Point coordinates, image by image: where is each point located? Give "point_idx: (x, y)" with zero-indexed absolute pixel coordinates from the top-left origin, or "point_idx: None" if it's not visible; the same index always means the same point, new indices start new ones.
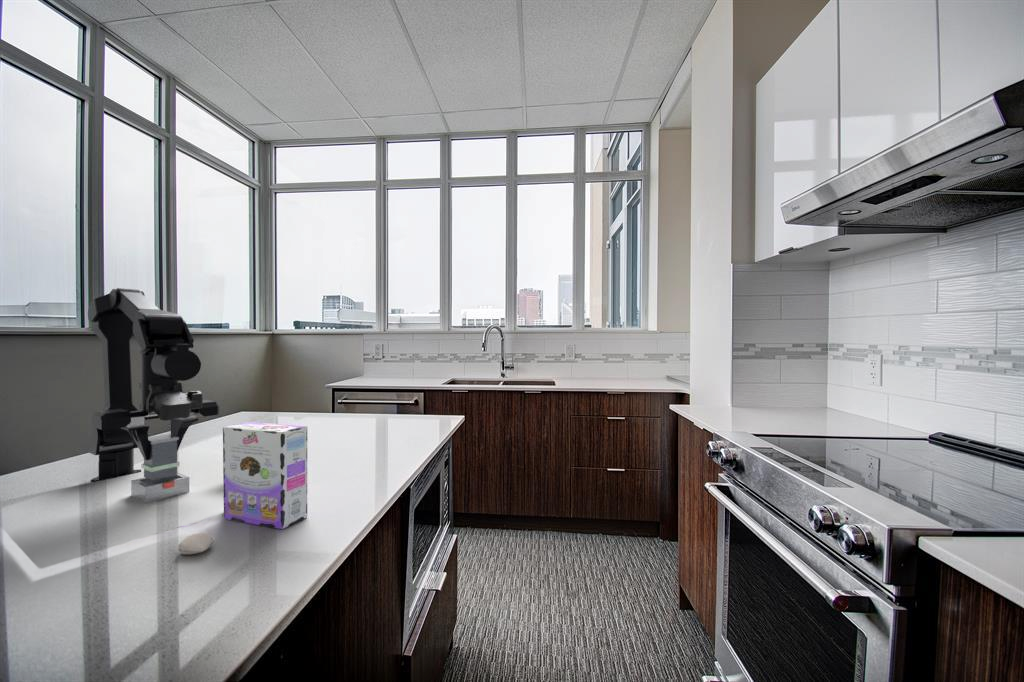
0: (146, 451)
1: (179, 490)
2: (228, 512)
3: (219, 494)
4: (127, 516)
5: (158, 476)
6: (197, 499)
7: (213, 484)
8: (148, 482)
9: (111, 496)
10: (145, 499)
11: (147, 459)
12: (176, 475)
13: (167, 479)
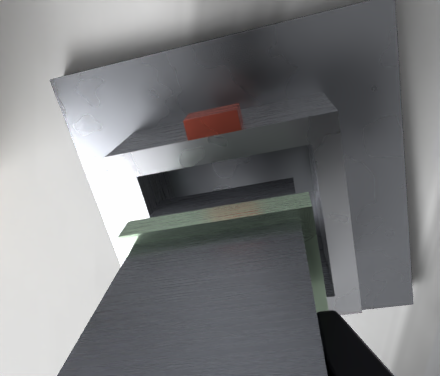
0: (356, 363)
1: (171, 128)
2: None
3: (21, 66)
4: (403, 25)
5: (258, 192)
6: (112, 61)
7: (47, 240)
8: None
9: (381, 357)
10: (326, 96)
11: (328, 311)
12: None
13: None
